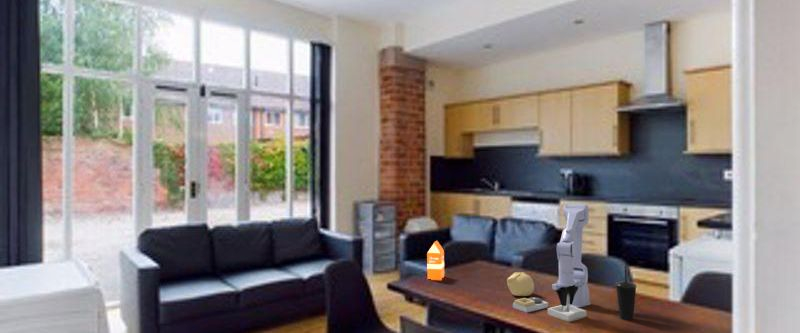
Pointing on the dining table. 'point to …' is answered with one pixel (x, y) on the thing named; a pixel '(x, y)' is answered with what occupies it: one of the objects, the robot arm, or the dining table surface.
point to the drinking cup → (626, 298)
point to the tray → (567, 313)
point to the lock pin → (567, 304)
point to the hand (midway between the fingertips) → (566, 304)
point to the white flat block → (529, 304)
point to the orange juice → (435, 262)
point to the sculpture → (520, 284)
